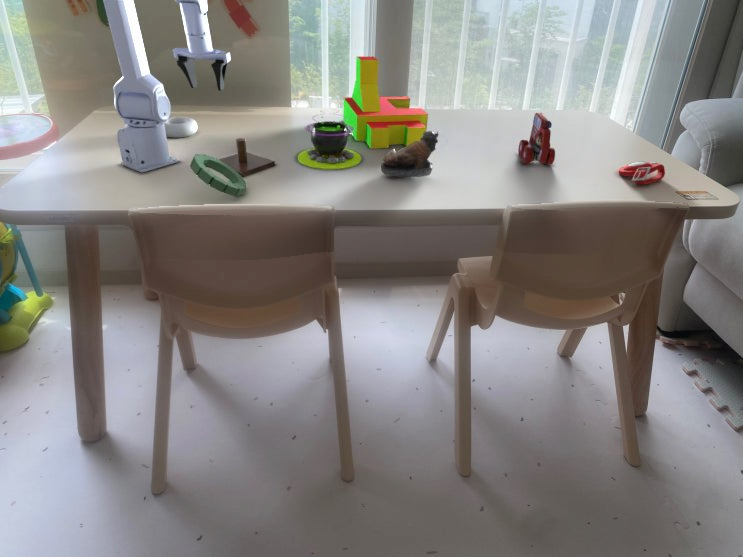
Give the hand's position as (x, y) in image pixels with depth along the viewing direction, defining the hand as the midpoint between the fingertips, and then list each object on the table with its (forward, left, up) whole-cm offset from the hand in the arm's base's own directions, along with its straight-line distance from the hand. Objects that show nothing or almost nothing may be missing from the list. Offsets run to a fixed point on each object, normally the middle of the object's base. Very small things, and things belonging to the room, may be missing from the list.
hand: (207, 88), depth 138 cm
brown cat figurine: (+5, -59, -10) cm, 61 cm away
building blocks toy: (+28, -37, -10) cm, 48 cm away
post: (-15, -28, -10) cm, 33 cm away
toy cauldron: (+2, -39, -10) cm, 41 cm away
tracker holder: (+39, -100, -10) cm, 108 cm away
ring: (-28, -36, -7) cm, 47 cm away
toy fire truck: (+35, -77, -10) cm, 86 cm away
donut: (-10, +2, -10) cm, 14 cm away
